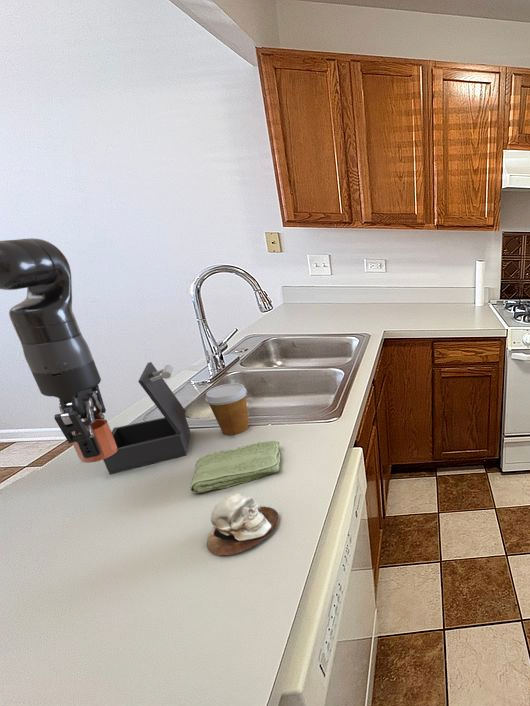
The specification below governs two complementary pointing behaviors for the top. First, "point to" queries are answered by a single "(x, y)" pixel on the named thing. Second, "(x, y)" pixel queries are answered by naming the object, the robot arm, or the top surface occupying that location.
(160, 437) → the dark grey box
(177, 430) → the lid
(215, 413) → the disposable coffee cup
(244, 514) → the skull
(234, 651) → the top surface
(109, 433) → the creamer cup
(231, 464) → the washcloth
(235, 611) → the top surface
